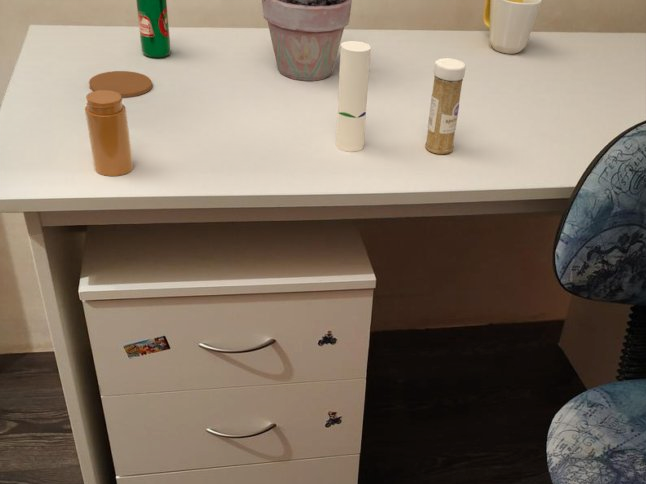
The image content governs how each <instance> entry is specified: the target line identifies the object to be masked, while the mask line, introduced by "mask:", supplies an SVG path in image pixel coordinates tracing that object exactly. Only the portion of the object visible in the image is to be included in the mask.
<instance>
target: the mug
mask: <svg viewBox="0 0 646 484" xmlns="http://www.w3.org/2000/svg"><path fill="white" fill-rule="evenodd" d="M542 1H543V0H485V1H484V6H483V7H484V8H483V15H482V21H483V24H484V26H485V27H487V29H488V30H489V33H488V41H489V43H490V45H491V47H492V48H493V50H495V51H496V52H499V53H502V54H508V55H514V54H518V53H521V51H522V50H523V49H524V48H526V47H527V45H528V42H529V38H530V36H531V33H532V30H533V28H534V24H535V22H536V19H537V16H538V14H539V11H540V8H541V6H542V5H541V4H542Z"/></svg>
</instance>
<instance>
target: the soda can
mask: <svg viewBox="0 0 646 484" xmlns="http://www.w3.org/2000/svg"><path fill="white" fill-rule="evenodd" d="M135 1H136V9H137V19H138V27H139V38H140V46H141V52H142V54H143V55H145V56H146V57H149V58H153V59H162V58H163V59H164V58H166V57H168V56H169V55H170V54H171V50H172V49H171V38H170V28H169V14H168V3H167V0H135Z"/></svg>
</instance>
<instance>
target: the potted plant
mask: <svg viewBox="0 0 646 484" xmlns="http://www.w3.org/2000/svg"><path fill="white" fill-rule="evenodd" d="M352 3H353V0H261V5H262V16H263V19H264V20H265V21H266V22H267V26H268V30H269V35H270V39H271V44H272V50H273V53H274V57H275V62H276V67H277V71H278V73H280V75H282V76H284V77H286V78H288V79H292V80H296V81H303V82H317V81H322V80H326V79H327V78H329V77H330V76H331V75H333V71H334V68H335V63H336V60H337V56H338V53H339V48H340V46H341V42H342V38H343V34H344V30H345V28H346V26H348V25H349V24H350V19H351V18H350V17H351V11H352Z"/></svg>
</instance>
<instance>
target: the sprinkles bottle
mask: <svg viewBox="0 0 646 484" xmlns="http://www.w3.org/2000/svg"><path fill="white" fill-rule="evenodd" d="M466 69H467V68H466V63H465V62H463V61H461V60H459V59H456V58H452V57H451V58H450V57H442V58H439V59H436V61H435V63H434V69H433V75H434V76H433V77H434V78H433V86H432V94H431V99H430V107H429V114H428V120H427V121H428V122H427V135H426V141H425V144H424V146H425V149H426V150H427V151H429V152H430V153H433V154H436V155H447V154H450V153H452V152H453V151H454V140H455V133H456V129H457V123H458V116H459V110H460V99H461V93H462V87H463V86H462V85H463V81H464V78H465V76H466V75H465V74H466Z"/></svg>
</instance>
